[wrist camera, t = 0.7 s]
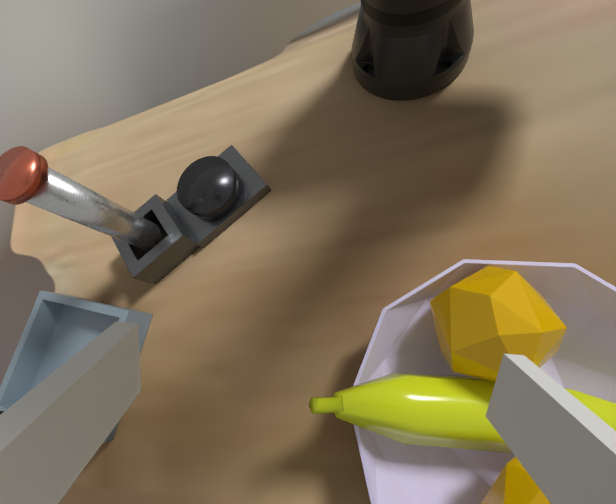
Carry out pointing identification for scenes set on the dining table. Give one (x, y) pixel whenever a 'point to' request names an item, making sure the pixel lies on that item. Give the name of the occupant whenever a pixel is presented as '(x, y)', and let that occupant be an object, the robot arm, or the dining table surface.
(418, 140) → the dining table surface
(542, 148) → the dining table surface
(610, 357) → the fruit bowl
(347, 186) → the dining table surface
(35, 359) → the tray
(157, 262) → the bracket
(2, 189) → the lock pin
